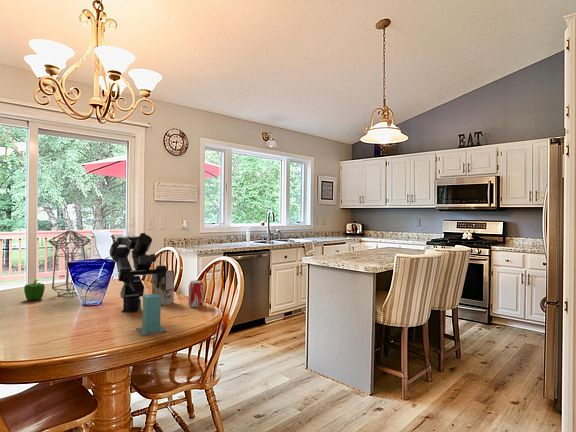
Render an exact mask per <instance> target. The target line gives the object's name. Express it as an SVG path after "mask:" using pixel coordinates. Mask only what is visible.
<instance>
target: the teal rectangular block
mask: <svg viewBox="0 0 576 432" xmlns="http://www.w3.org/2000/svg"><path fill="white" fill-rule="evenodd" d="M161 305H162V304H161V296H160V295H159V294H157V293H154V294H152V293H147V294H143V296H142V326H141V327H142V329H143V330H144V331H145V332H151V331H157V330H160V325H161V315H162V314H161V311H162V310H161Z"/></svg>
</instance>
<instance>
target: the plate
mask: <svg viewBox="0 0 576 432" xmlns="http://www.w3.org/2000/svg"><path fill="white" fill-rule="evenodd" d="M135 330H136V332H137V333H138V334H139V335H140V336H141V337H145V336H146V337H147V336H151V335H157V334H164V333H167V332H168V331H167V329H166V328H165V327H164V326H163V325H162V324H160V330H157V331H151V332H145V331H144V330H143V329H142V326H141V327H136V328H135Z"/></svg>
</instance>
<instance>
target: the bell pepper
mask: <svg viewBox="0 0 576 432" xmlns="http://www.w3.org/2000/svg"><path fill="white" fill-rule="evenodd" d="M23 289H24V290H23V291H24V295H25V299H26V300H27V301H30V302H31V301H39V300H41V299H42V298H43V296H44V293H45V284H44V283H41V282H38V279H37V278H35V279H34V281H33V283H28V284H25V285H24V287H23Z"/></svg>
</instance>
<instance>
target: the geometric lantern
mask: <svg viewBox="0 0 576 432" xmlns="http://www.w3.org/2000/svg"><path fill="white" fill-rule="evenodd" d="M68 235H69V237H68ZM59 237H60V238H59ZM81 237H82V238H84V239H82V238H81ZM57 238H58V240H55V239H57ZM67 240H69V241H68V242H67ZM91 241H92V239H90V238H89V237H87V236H84V235H82V234H80V233H78V232H76V231H74V230H73V229H72V230H71V229H69V230H67V231H64V232H62V233H61V234H59V235H57V236H55V237H53V238H51V239H48V240H47V241H46V242H47V243H49V244H50V245H52V246H53V247H55V252H54V256H53V270H52V271H53V272H52V273H53V275H52V283H51V284H52V285H51V289H52V290H53V291H55V292H56V293H57V297H58V298H59V297H62V298H73V297H76V296H77V294H76V290H75V284H74V285H73V283H72V280H71V279H70V280H71V282H70V283H69V273H70V272H69V270H68V265H67V263H68V262H69V263H70V262H71V261H73V262H74V258H77V257H82V256H83V261H84V260H85V261H86V250H85V248H84V247H85V246H86V245H87V244H89V243H90V242H91ZM69 244H73V245H74V246H75V247H74V248H73V250H72V251H71V252H69V250H68V249H67V248H66V246H68V245H69ZM76 248H77V249H76ZM80 248H82V253H77V251H79V249H80ZM60 249H61V250H62V251H63V253H60V254H59V253H58V252H59V250H60ZM64 249H65V250H66V251H67V252H66V251H65V250H64ZM74 251H75V252H74ZM65 255H66V256H65ZM69 255H70V256H69ZM57 258H67V259H66V275H65V283H63V284H60V285H56V286H55V273H56V263H57V262H56V261H57ZM69 258H71V261H70V260H69ZM62 286H65V287H66V289H64V288H59V287H62ZM64 291H66V292H64ZM71 291H72V292H71ZM66 294H68V295H69V296H67V295H66Z"/></svg>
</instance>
